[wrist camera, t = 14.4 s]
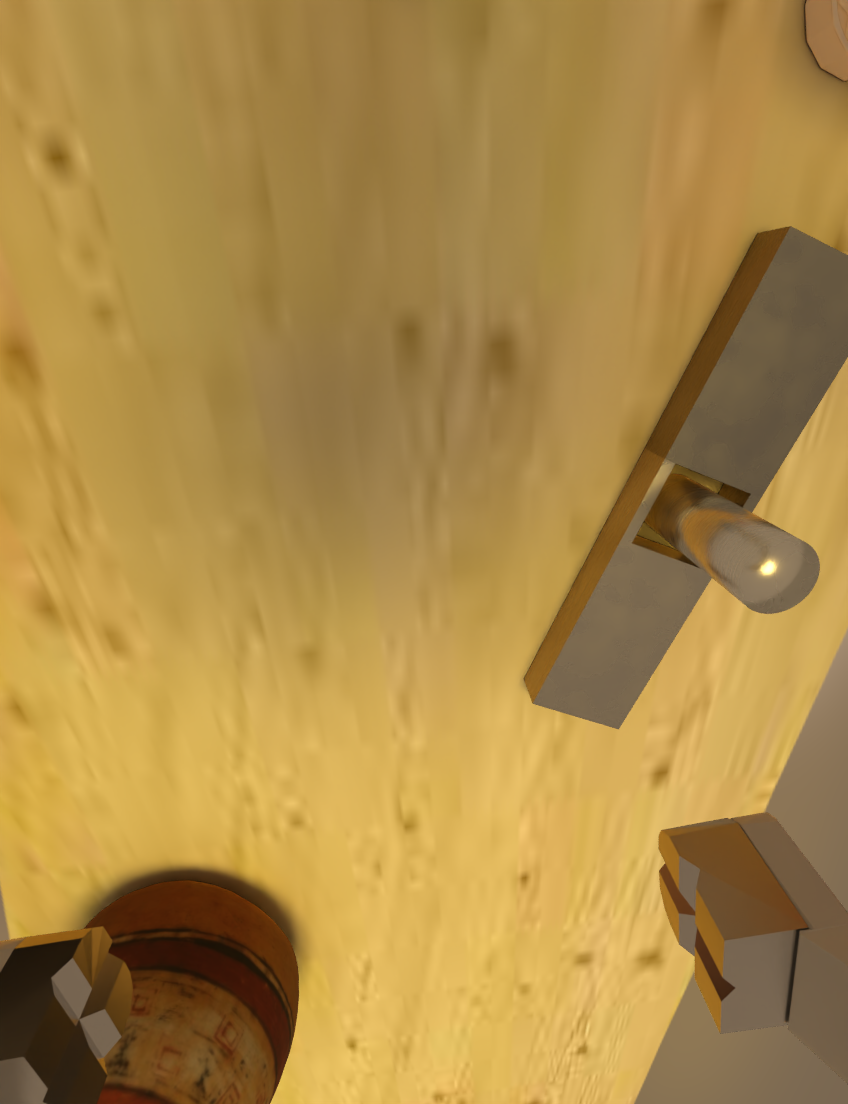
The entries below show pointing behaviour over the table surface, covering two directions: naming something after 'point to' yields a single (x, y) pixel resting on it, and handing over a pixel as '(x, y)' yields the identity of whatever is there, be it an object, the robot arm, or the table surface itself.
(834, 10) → the white cup
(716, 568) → the pin
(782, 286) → the grey slab
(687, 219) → the table surface
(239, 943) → the ceramic pitcher
